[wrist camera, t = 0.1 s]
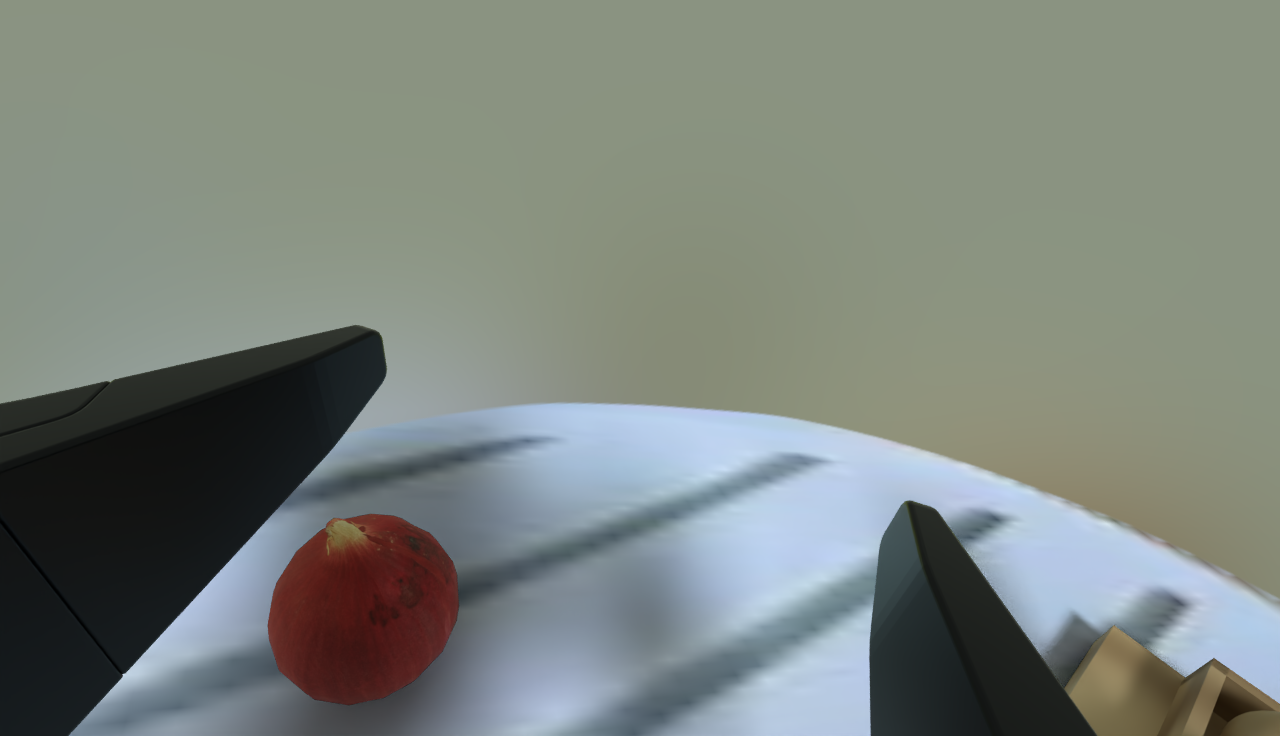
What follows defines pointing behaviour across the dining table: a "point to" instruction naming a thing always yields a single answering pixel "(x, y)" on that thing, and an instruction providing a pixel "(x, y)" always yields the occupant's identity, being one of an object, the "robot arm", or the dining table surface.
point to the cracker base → (1157, 692)
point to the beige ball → (1254, 724)
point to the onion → (362, 609)
